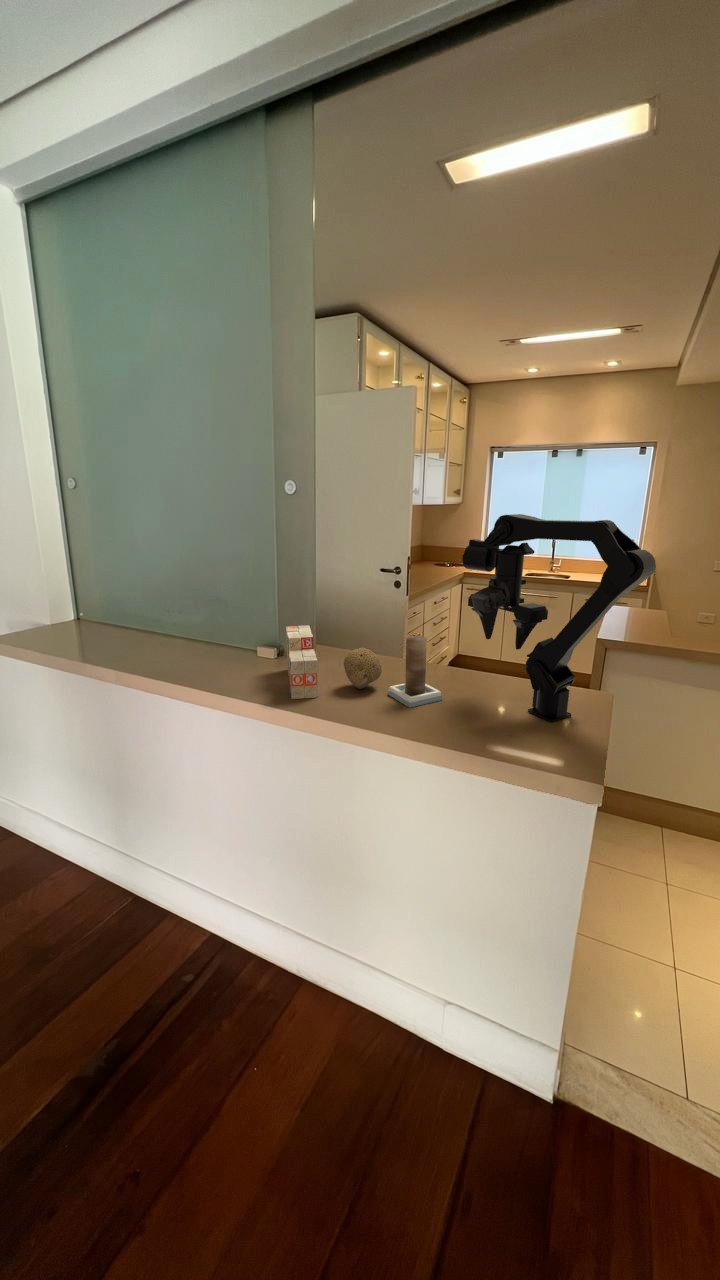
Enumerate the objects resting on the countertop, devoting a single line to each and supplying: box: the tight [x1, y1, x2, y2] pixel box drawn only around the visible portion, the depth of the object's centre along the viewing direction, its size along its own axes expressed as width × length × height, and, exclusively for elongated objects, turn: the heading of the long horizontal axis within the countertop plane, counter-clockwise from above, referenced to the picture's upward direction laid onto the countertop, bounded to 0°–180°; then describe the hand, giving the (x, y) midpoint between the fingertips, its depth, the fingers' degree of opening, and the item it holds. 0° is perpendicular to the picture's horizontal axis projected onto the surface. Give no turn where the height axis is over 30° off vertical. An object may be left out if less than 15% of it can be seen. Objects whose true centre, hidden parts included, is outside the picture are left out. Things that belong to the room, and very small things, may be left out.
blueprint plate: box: [387, 683, 443, 708], centre depth 119 cm, size 9×9×2 cm
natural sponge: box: [343, 647, 383, 690], centre depth 123 cm, size 9×9×10 cm
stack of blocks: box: [285, 624, 319, 700], centre depth 127 cm, size 21×6×12 cm, turn 10°
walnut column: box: [404, 635, 428, 696], centre depth 117 cm, size 5×5×13 cm
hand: (502, 643), depth 115 cm, fingers open, 9 cm apart
